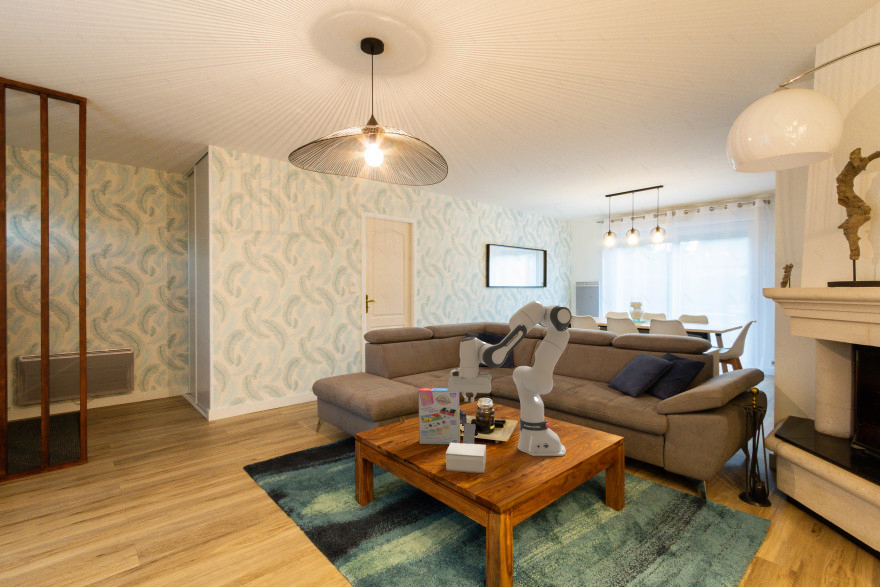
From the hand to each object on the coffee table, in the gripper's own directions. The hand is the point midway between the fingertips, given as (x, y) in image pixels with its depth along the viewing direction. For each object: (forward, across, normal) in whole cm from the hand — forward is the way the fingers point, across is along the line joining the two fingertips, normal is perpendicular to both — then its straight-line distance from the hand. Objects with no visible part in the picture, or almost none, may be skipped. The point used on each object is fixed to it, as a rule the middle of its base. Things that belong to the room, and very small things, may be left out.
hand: (469, 401), depth 190 cm
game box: (+25, +17, -13) cm, 33 cm away
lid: (+20, 0, +8) cm, 21 cm away
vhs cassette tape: (+25, +11, -38) cm, 47 cm away
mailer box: (+25, 0, +12) cm, 28 cm away
